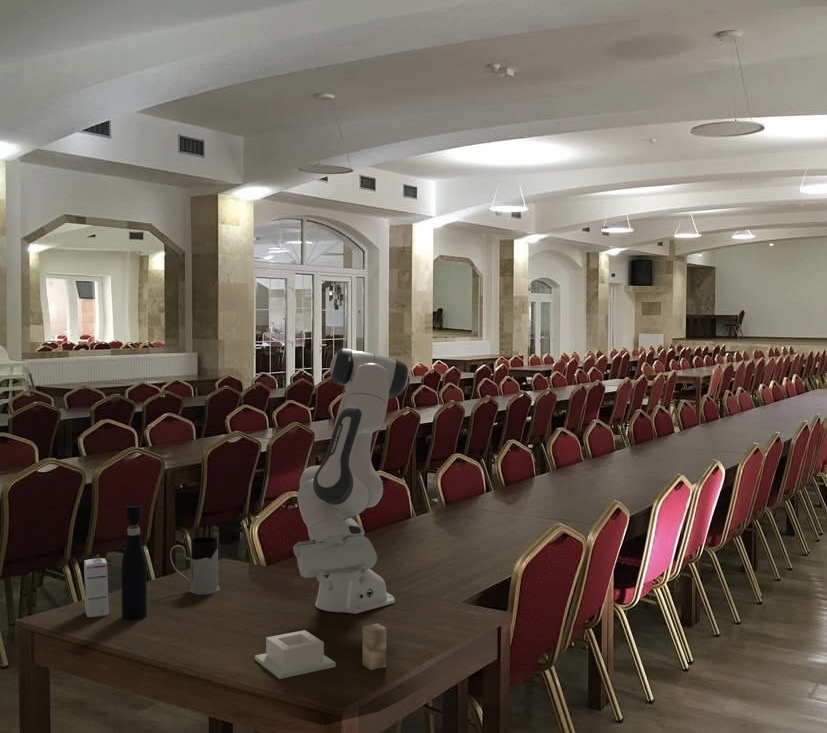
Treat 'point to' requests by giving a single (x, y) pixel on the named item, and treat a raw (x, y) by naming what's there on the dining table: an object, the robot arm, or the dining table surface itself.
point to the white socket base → (294, 654)
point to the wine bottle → (134, 570)
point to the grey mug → (202, 565)
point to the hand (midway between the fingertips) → (347, 586)
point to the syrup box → (96, 587)
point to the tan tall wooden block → (374, 646)
